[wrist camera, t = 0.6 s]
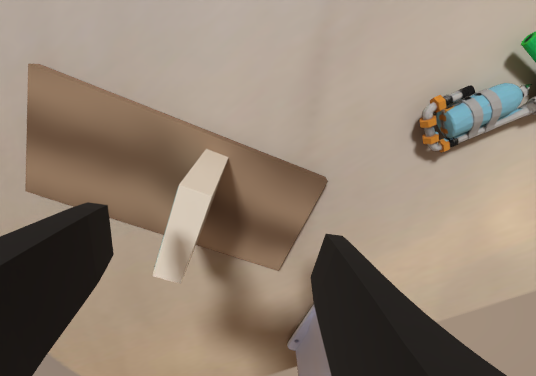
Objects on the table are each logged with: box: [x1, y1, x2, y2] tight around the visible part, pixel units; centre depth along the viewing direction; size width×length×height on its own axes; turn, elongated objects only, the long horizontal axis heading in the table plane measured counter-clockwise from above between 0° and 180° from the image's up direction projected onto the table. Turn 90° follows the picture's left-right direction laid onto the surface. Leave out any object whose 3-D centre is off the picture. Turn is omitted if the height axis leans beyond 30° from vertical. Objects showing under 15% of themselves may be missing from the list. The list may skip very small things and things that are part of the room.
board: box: [26, 64, 328, 270], centre depth 19 cm, size 9×20×1 cm, turn 68°
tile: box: [153, 149, 228, 284], centre depth 16 cm, size 6×2×6 cm, turn 158°
